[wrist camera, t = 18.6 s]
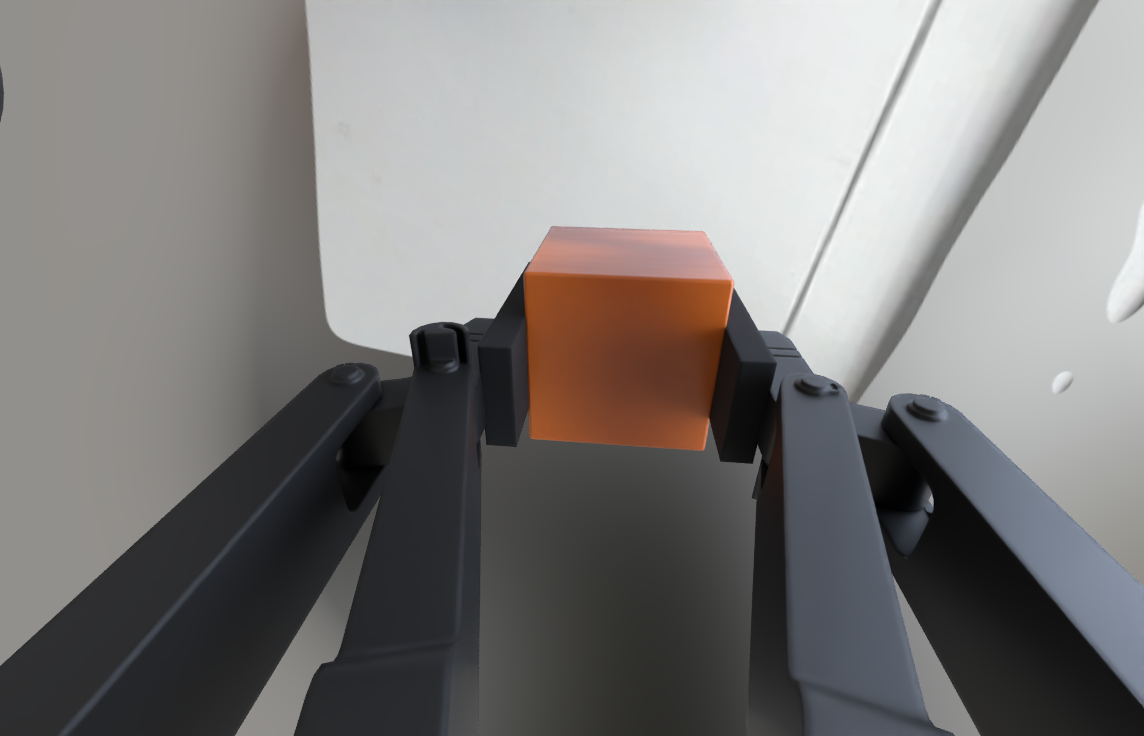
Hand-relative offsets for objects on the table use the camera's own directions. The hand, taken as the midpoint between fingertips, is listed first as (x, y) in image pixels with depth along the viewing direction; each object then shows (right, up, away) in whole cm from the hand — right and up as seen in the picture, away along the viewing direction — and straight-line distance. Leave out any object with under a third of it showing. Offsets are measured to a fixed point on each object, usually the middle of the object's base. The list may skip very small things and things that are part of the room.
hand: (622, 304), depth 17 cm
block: (0, 0, 0) cm, 0 cm away
